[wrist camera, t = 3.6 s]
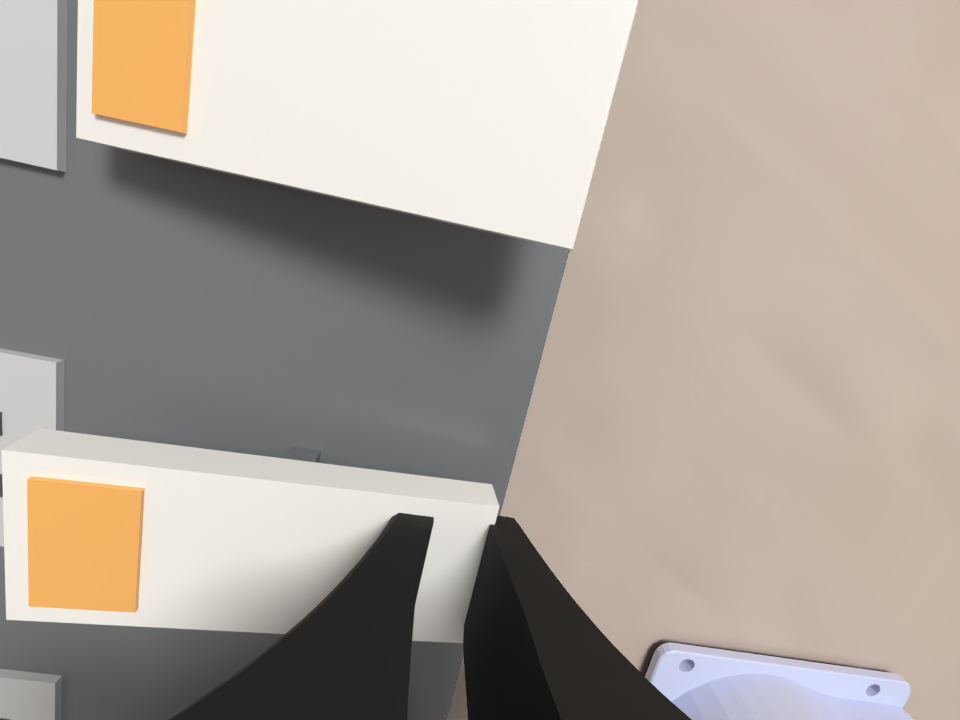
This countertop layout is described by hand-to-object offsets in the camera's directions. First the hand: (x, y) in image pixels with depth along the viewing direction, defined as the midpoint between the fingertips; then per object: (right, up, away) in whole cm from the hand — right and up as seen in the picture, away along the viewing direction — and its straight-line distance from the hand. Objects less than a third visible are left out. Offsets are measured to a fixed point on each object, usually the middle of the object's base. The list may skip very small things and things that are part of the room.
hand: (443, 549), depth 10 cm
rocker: (-1, +8, -3) cm, 9 cm away
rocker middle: (-3, 0, -1) cm, 3 cm away
